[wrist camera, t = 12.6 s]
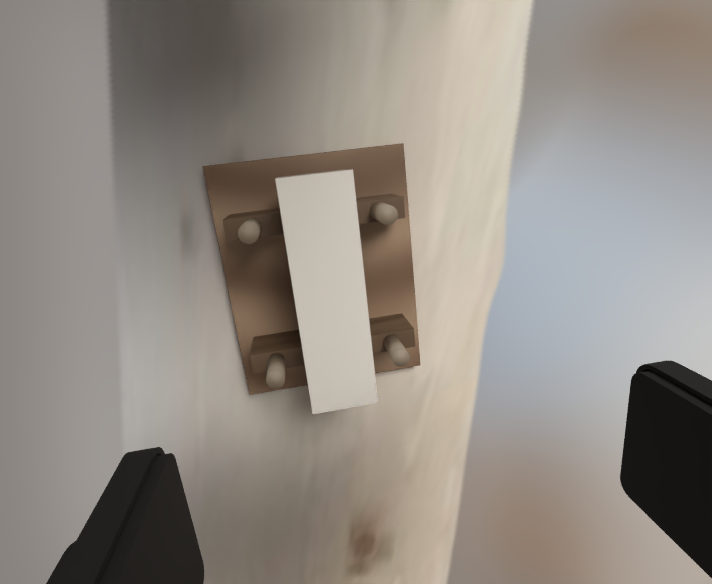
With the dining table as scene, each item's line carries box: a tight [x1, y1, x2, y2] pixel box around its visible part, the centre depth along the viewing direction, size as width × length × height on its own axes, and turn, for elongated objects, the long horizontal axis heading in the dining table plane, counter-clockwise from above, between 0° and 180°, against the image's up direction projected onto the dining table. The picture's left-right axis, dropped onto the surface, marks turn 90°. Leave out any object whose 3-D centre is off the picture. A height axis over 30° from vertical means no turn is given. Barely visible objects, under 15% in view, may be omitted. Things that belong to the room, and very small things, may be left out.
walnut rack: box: [203, 144, 420, 395], centre depth 26 cm, size 15×12×7 cm
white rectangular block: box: [275, 170, 378, 414], centre depth 23 cm, size 12×4×4 cm, turn 6°
